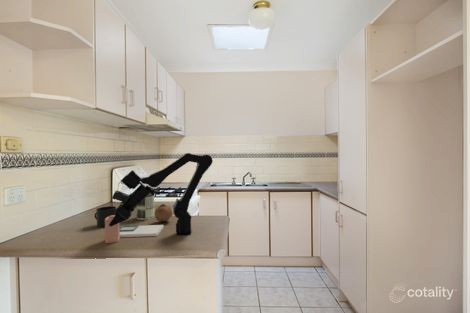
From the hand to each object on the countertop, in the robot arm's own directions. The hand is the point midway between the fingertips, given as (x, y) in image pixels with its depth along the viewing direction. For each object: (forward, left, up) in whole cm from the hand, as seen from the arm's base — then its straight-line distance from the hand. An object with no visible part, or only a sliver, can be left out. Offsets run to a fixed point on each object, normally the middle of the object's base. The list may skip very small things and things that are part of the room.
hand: (111, 223), depth 112 cm
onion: (-16, -28, -8) cm, 33 cm away
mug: (+15, -27, -8) cm, 32 cm away
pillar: (0, 0, -8) cm, 8 cm away
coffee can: (-3, -40, -8) cm, 41 cm away
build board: (-8, -11, -8) cm, 16 cm away
